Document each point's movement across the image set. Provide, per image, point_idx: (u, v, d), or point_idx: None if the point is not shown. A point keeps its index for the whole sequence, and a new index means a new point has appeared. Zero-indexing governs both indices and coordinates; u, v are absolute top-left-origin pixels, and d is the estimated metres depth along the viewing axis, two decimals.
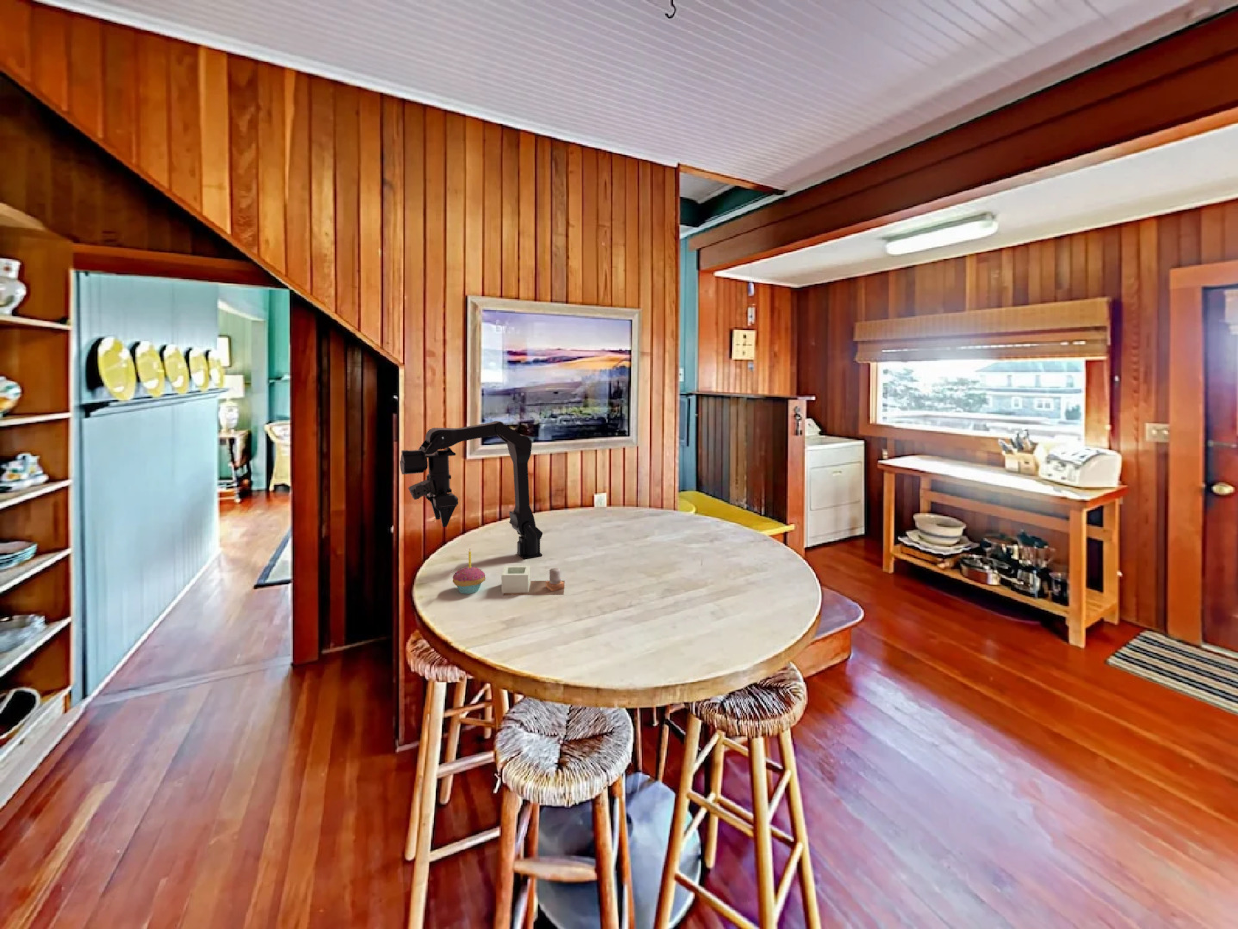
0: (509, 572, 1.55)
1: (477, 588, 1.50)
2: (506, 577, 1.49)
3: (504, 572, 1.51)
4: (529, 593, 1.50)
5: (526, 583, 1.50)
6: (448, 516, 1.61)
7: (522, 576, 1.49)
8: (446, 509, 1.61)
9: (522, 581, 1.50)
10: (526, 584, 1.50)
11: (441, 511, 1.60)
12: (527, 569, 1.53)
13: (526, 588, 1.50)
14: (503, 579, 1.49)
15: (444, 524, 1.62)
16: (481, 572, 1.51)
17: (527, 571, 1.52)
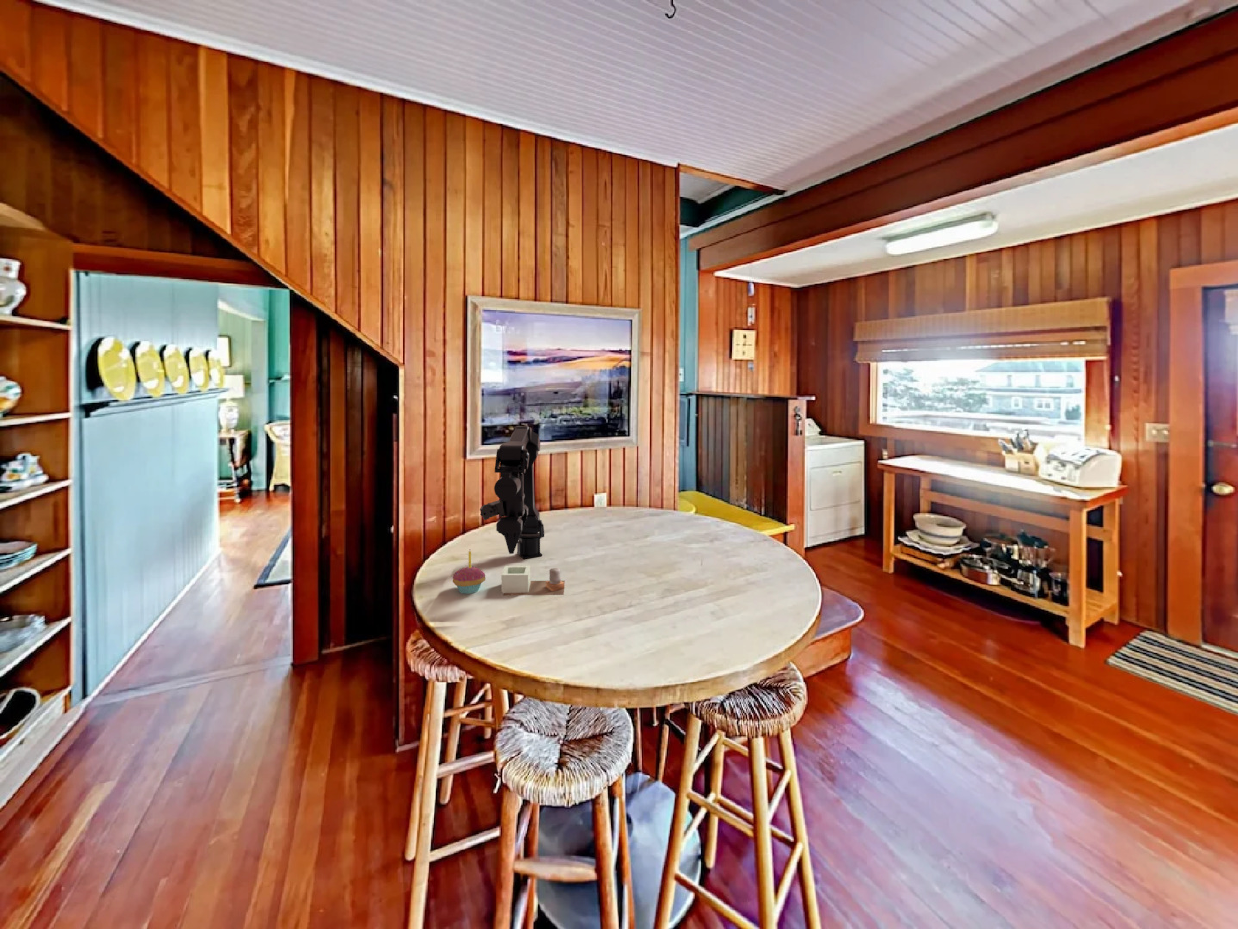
0: (509, 572, 1.55)
1: (477, 588, 1.50)
2: (506, 577, 1.49)
3: (504, 572, 1.51)
4: (529, 593, 1.50)
5: (526, 583, 1.50)
6: (514, 542, 1.46)
7: (522, 576, 1.49)
8: (512, 534, 1.45)
9: (522, 581, 1.50)
10: (526, 584, 1.50)
11: (505, 536, 1.45)
12: (527, 569, 1.53)
13: (526, 588, 1.50)
14: (503, 579, 1.49)
15: (510, 550, 1.47)
16: (481, 572, 1.51)
17: (527, 571, 1.52)
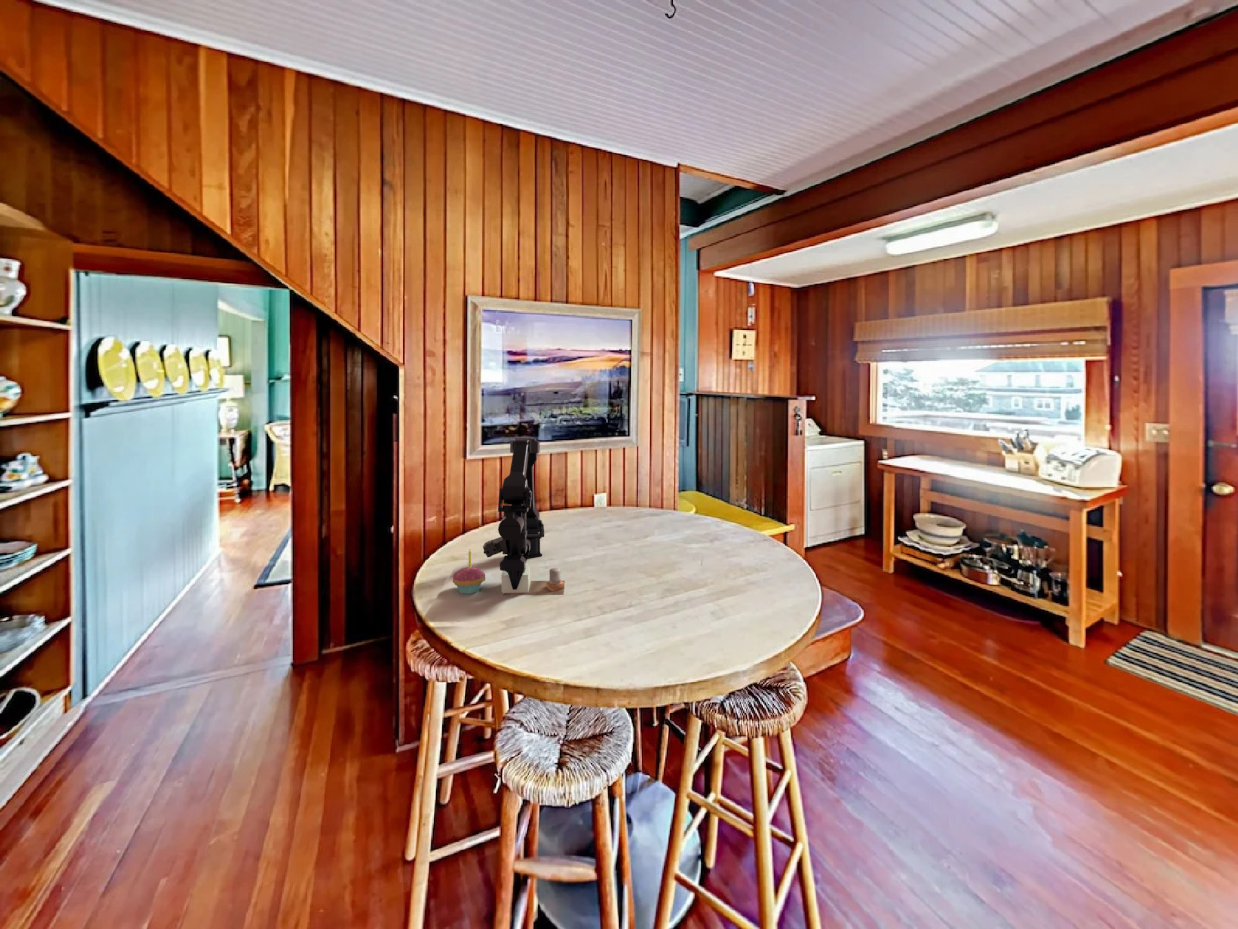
0: None
1: (477, 588, 1.50)
2: (506, 577, 1.49)
3: (504, 572, 1.51)
4: (529, 593, 1.50)
5: (526, 583, 1.50)
6: (517, 579, 1.48)
7: (522, 576, 1.49)
8: (515, 571, 1.48)
9: (522, 581, 1.50)
10: (526, 584, 1.50)
11: (509, 573, 1.47)
12: (527, 569, 1.53)
13: (526, 588, 1.50)
14: (503, 579, 1.49)
15: (513, 586, 1.49)
16: (481, 572, 1.51)
17: (527, 571, 1.52)
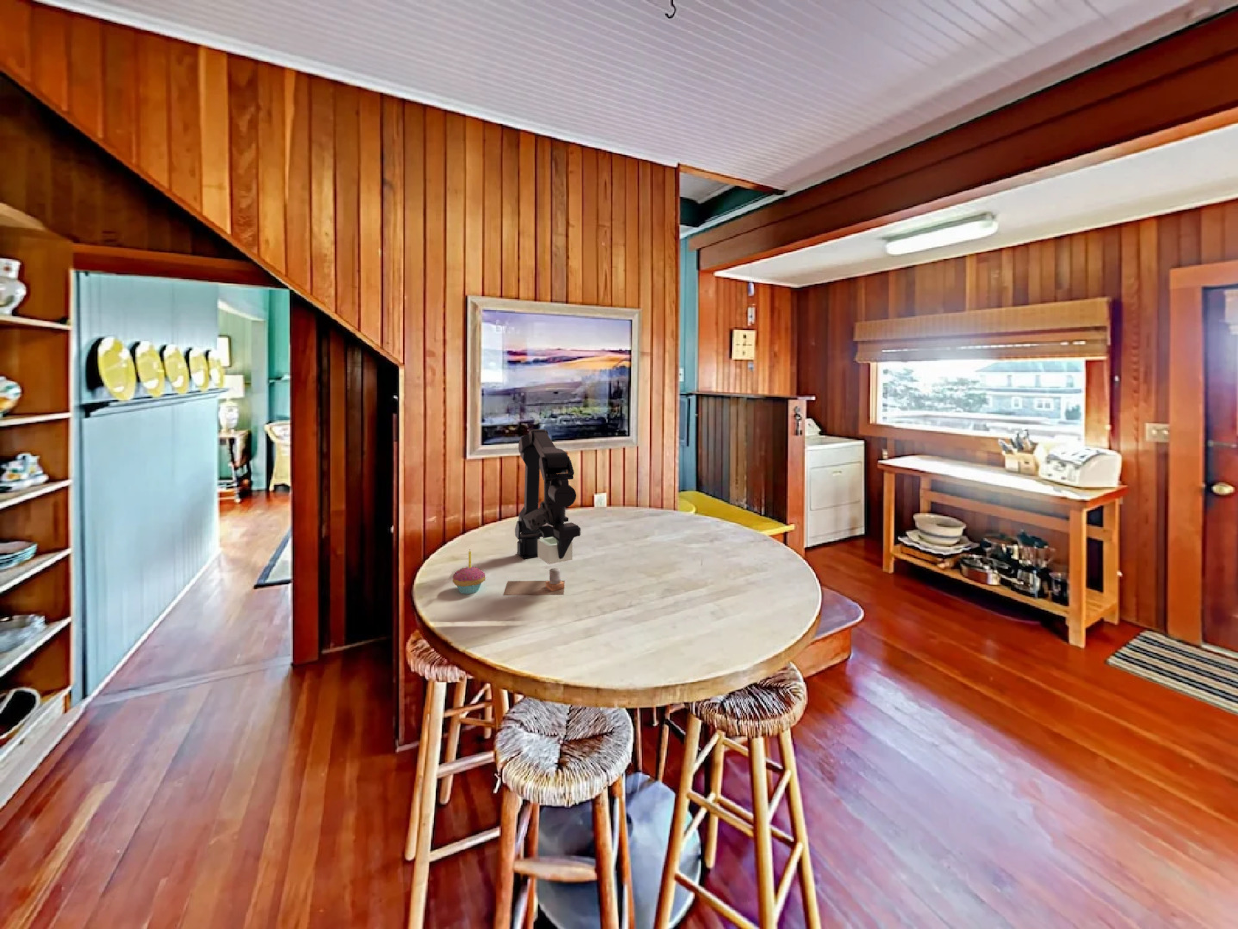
0: None
1: (477, 588, 1.50)
2: (553, 547, 1.48)
3: (547, 543, 1.49)
4: (529, 593, 1.50)
5: (571, 550, 1.51)
6: (566, 547, 1.48)
7: None
8: (564, 539, 1.48)
9: (567, 549, 1.50)
10: (571, 551, 1.51)
11: (560, 542, 1.47)
12: None
13: (570, 555, 1.51)
14: (550, 550, 1.48)
15: (561, 555, 1.49)
16: (481, 572, 1.51)
17: None
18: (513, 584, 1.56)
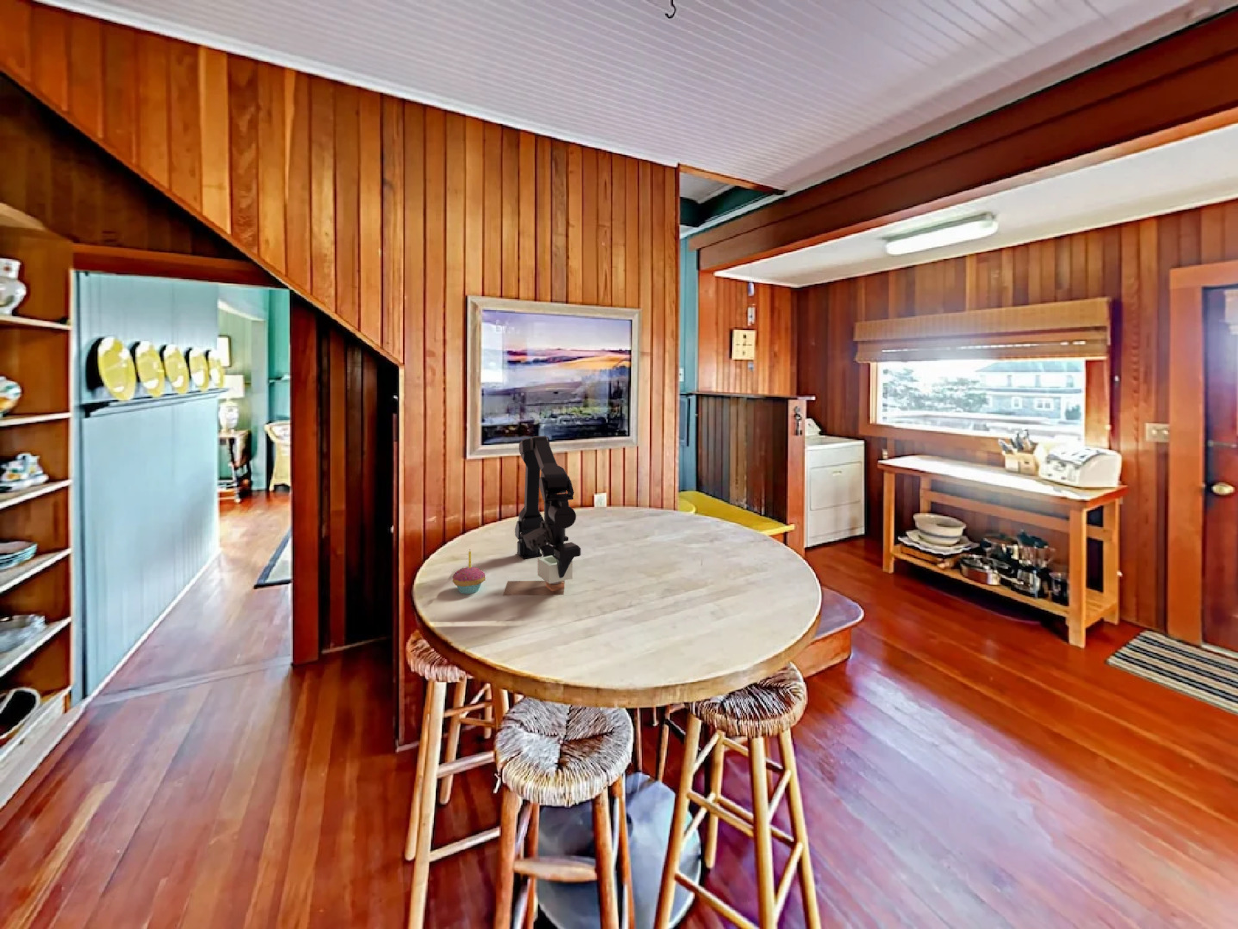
0: None
1: (477, 588, 1.50)
2: (553, 567, 1.49)
3: (547, 563, 1.50)
4: (529, 593, 1.50)
5: (571, 569, 1.52)
6: (566, 566, 1.49)
7: None
8: (565, 558, 1.49)
9: None
10: (571, 570, 1.52)
11: (560, 561, 1.48)
12: None
13: (570, 574, 1.52)
14: (550, 569, 1.49)
15: (561, 575, 1.50)
16: (481, 572, 1.51)
17: None
18: (513, 584, 1.56)
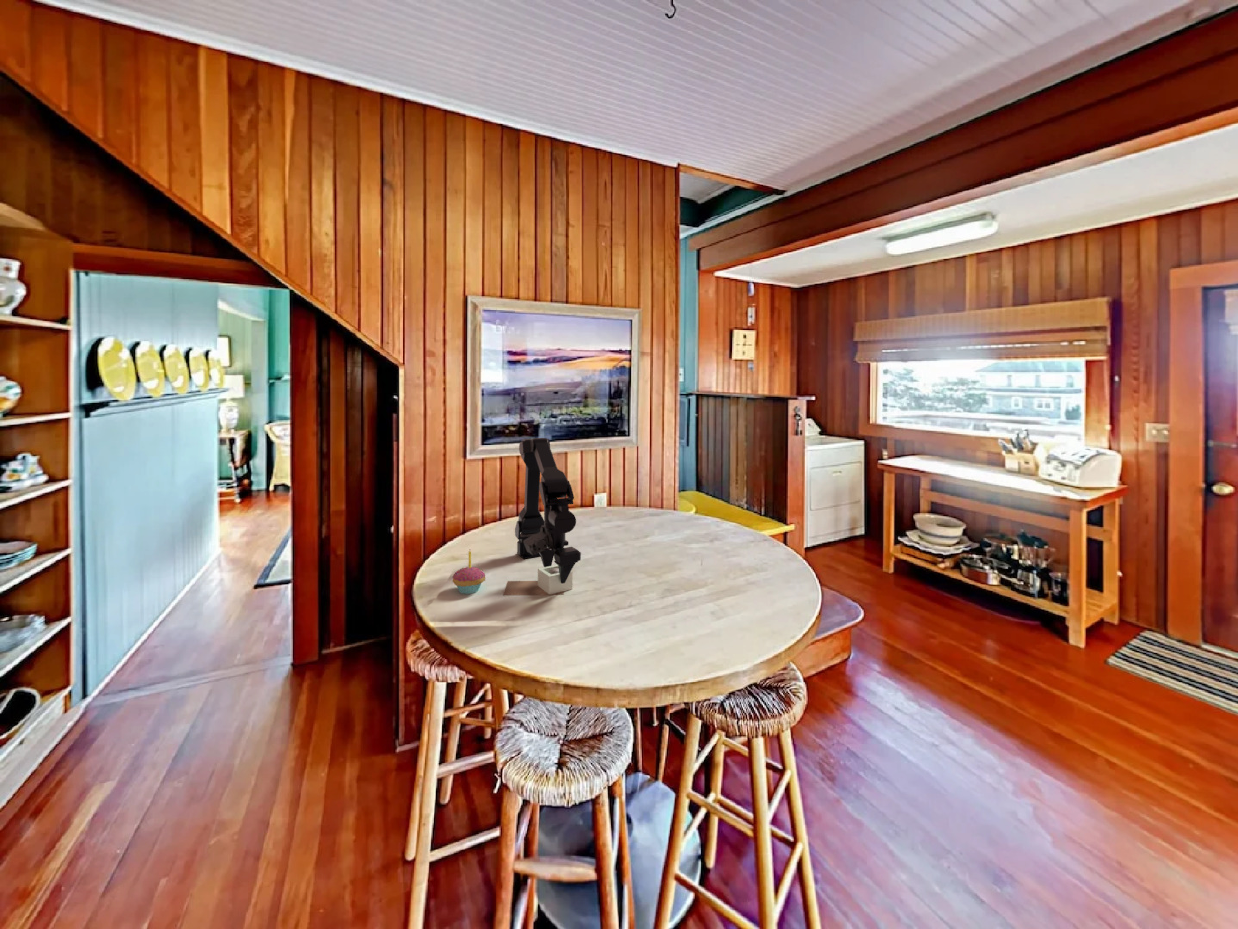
0: None
1: (477, 588, 1.50)
2: (553, 577, 1.49)
3: (547, 573, 1.50)
4: (529, 593, 1.50)
5: (571, 580, 1.53)
6: (568, 571, 1.49)
7: None
8: (566, 564, 1.48)
9: (567, 579, 1.52)
10: (571, 581, 1.53)
11: (562, 567, 1.47)
12: None
13: (571, 585, 1.53)
14: (551, 580, 1.49)
15: (563, 580, 1.49)
16: (481, 572, 1.51)
17: None
18: (513, 584, 1.56)
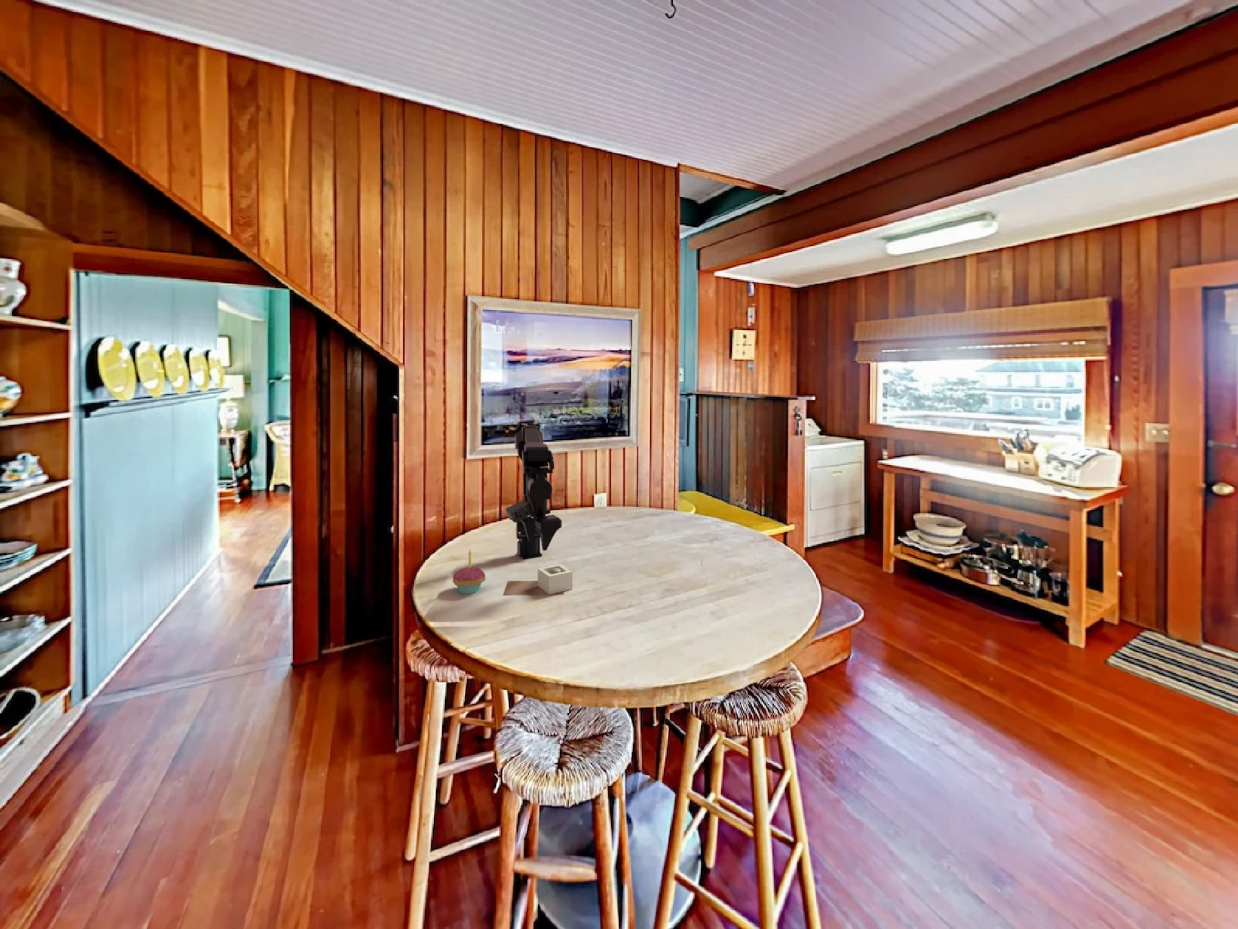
0: None
1: (477, 588, 1.50)
2: (553, 577, 1.49)
3: (547, 573, 1.50)
4: (529, 593, 1.50)
5: (571, 580, 1.53)
6: (549, 539, 1.52)
7: (567, 574, 1.52)
8: (548, 531, 1.51)
9: (567, 579, 1.52)
10: (571, 581, 1.53)
11: (543, 534, 1.50)
12: (563, 567, 1.55)
13: (571, 585, 1.53)
14: (551, 580, 1.49)
15: (544, 547, 1.53)
16: (481, 572, 1.51)
17: (566, 569, 1.54)
18: (513, 584, 1.56)
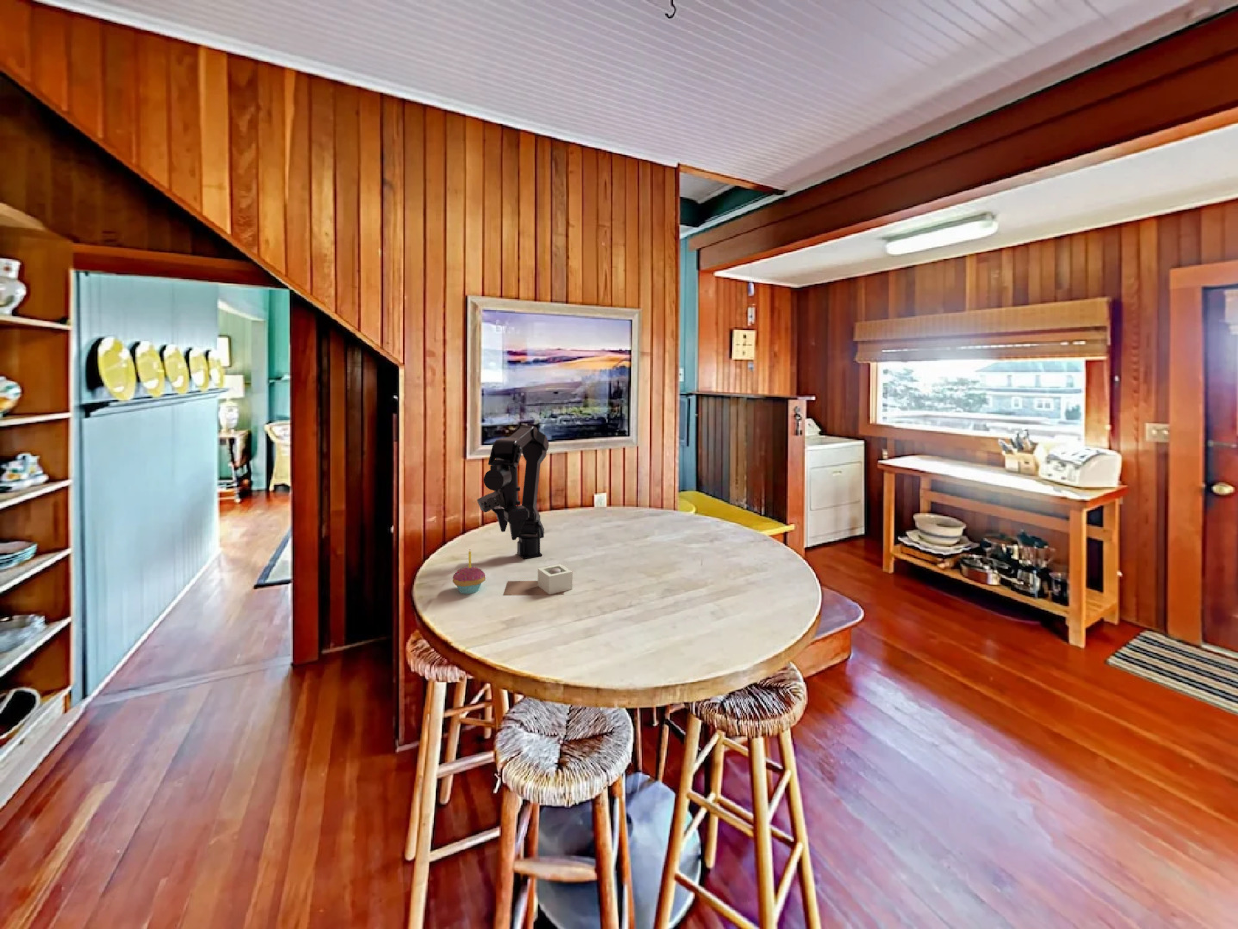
0: None
1: (477, 588, 1.50)
2: (553, 577, 1.49)
3: (547, 573, 1.50)
4: (529, 593, 1.50)
5: (571, 580, 1.53)
6: (518, 529, 1.59)
7: (567, 574, 1.52)
8: (516, 521, 1.58)
9: (567, 579, 1.52)
10: (571, 581, 1.53)
11: (512, 524, 1.57)
12: (563, 567, 1.55)
13: (571, 585, 1.53)
14: (551, 580, 1.49)
15: (513, 537, 1.59)
16: (481, 572, 1.51)
17: (566, 569, 1.54)
18: (513, 584, 1.56)
